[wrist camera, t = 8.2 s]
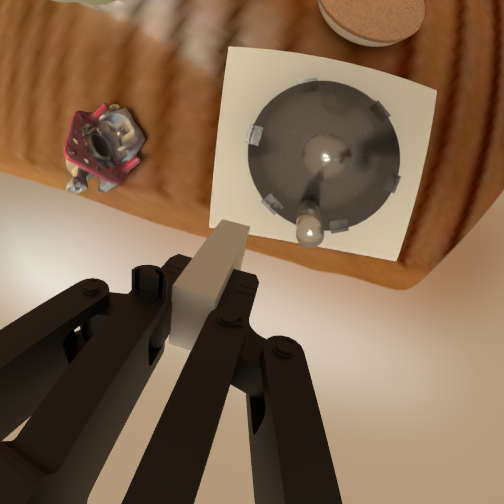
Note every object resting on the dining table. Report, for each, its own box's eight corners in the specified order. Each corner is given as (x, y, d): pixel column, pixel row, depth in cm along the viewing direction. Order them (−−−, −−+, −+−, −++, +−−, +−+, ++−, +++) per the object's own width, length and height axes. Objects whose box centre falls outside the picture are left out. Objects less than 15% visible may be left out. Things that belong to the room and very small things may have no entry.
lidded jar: (366, -29, 21) (383, -64, 13) (418, 38, 24) (452, 19, 16) (294, 1, 25) (292, -34, 16) (349, 70, 28) (367, 54, 19)
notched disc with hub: (270, 65, 27) (259, 45, 19) (413, 116, 27) (451, 119, 19) (233, 198, 34) (211, 227, 26) (366, 241, 34) (385, 281, 26)
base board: (431, 91, 27) (437, 90, 25) (393, 256, 36) (396, 262, 35) (231, 49, 28) (228, 46, 27) (212, 223, 38) (208, 228, 37)
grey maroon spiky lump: (170, 149, 32) (81, 203, 26) (143, 176, 41) (76, 221, 35) (125, 76, 29) (36, 119, 23) (107, 117, 38) (39, 155, 32)
